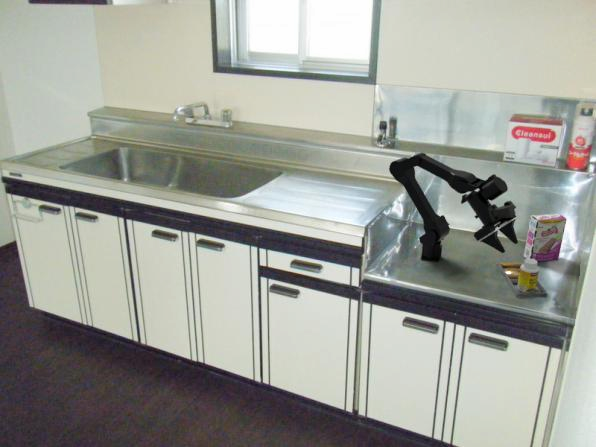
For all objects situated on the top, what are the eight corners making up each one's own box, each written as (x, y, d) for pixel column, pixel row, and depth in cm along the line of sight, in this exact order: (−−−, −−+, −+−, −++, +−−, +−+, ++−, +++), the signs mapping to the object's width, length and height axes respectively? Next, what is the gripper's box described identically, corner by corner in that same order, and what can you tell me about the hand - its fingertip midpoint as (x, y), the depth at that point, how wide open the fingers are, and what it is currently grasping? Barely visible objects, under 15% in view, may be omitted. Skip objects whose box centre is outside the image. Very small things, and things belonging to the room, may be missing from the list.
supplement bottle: (528, 295, 182) (532, 266, 179) (513, 288, 187) (517, 260, 183) (539, 290, 185) (544, 262, 181) (524, 283, 190) (528, 255, 186)
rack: (547, 297, 181) (547, 294, 181) (516, 297, 182) (516, 293, 181) (523, 265, 202) (524, 262, 201) (496, 265, 202) (496, 262, 201)
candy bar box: (530, 263, 203) (537, 220, 197) (522, 257, 208) (529, 215, 201) (559, 260, 205) (567, 218, 198) (551, 254, 209) (558, 212, 203)
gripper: (487, 202, 176) (517, 245, 174) (514, 187, 189) (542, 227, 186) (461, 220, 184) (489, 261, 182) (488, 204, 197) (515, 243, 194)
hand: (510, 247), depth 186 cm, fingers open, 9 cm apart
